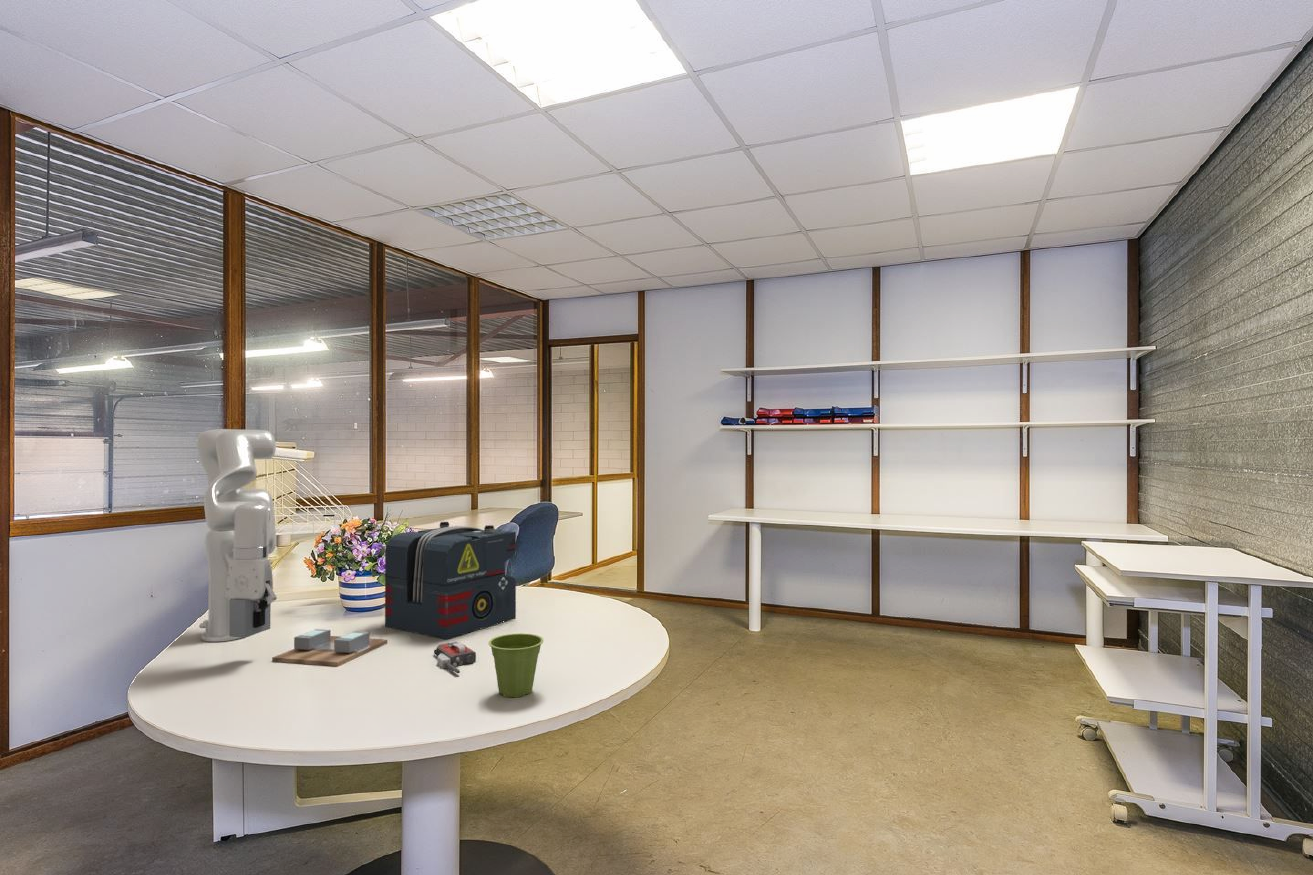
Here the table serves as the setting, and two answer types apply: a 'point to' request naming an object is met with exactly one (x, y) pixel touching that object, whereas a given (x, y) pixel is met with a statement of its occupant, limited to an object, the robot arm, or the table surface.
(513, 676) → the plant pot
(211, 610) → the robot arm
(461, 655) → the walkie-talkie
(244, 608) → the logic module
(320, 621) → the table surface
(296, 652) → the board
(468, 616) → the power unit
